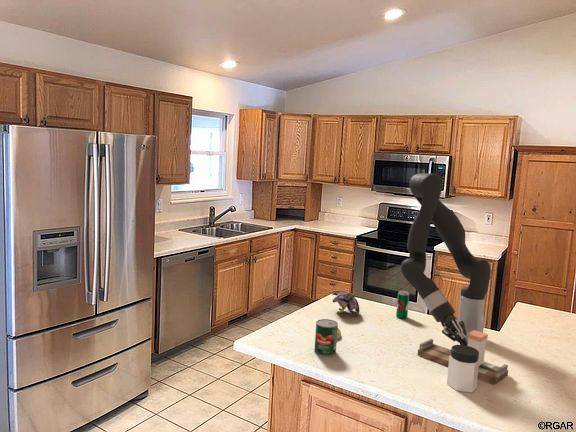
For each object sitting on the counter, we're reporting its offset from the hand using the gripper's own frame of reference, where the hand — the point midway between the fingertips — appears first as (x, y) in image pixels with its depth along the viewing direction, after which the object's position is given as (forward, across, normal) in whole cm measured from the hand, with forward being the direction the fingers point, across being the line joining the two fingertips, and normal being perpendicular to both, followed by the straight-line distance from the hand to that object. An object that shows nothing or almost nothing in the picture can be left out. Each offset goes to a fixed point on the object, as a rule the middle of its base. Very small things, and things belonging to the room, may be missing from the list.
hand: (468, 349), depth 154 cm
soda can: (-26, +26, +35) cm, 51 cm away
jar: (+8, -15, +1) cm, 17 cm away
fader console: (+3, 0, +6) cm, 7 cm away
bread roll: (-29, -17, +39) cm, 51 cm away
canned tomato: (-23, -30, +32) cm, 50 cm away
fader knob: (+5, 0, +1) cm, 5 cm away
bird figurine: (-38, +8, +48) cm, 62 cm away
